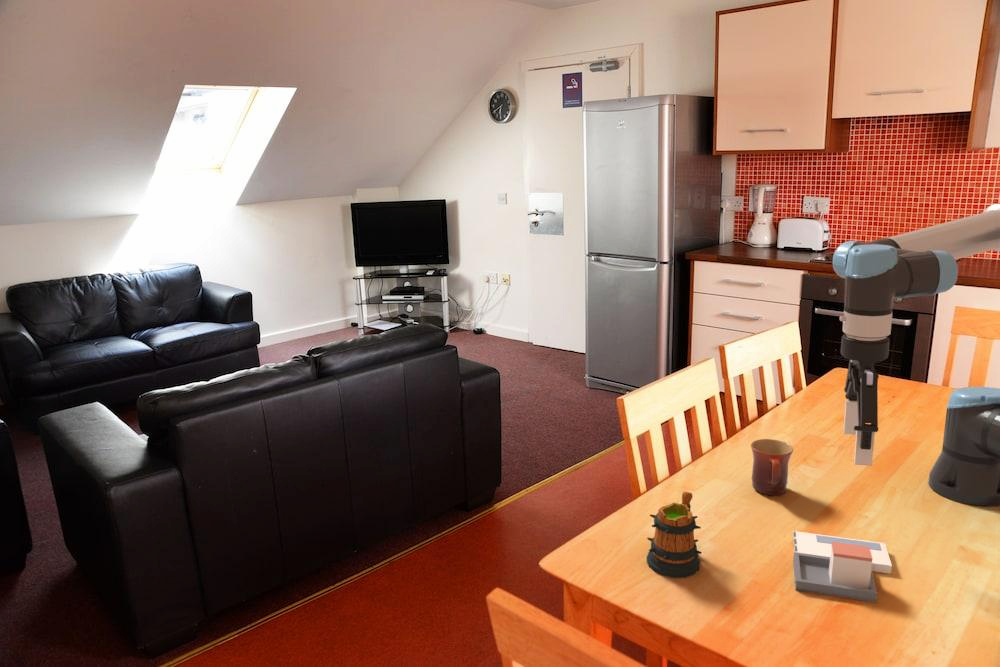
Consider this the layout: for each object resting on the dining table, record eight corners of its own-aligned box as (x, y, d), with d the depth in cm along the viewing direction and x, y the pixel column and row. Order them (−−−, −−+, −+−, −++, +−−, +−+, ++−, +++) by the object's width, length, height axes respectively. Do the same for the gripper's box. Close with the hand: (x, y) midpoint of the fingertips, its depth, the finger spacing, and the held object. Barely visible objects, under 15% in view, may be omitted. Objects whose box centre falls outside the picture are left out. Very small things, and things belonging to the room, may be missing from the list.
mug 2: (745, 479, 170) (748, 437, 168) (786, 482, 169) (789, 440, 166) (752, 504, 159) (755, 459, 156) (795, 507, 157) (799, 462, 155)
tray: (868, 571, 134) (869, 562, 133) (876, 602, 125) (877, 593, 124) (793, 560, 138) (793, 552, 137) (795, 590, 129) (796, 580, 128)
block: (865, 577, 131) (869, 546, 130) (868, 589, 127) (872, 558, 126) (828, 571, 133) (831, 541, 131) (830, 584, 129) (833, 553, 128)
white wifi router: (884, 550, 140) (885, 542, 140) (890, 573, 133) (892, 565, 132) (793, 538, 145) (793, 530, 145) (794, 559, 138) (795, 551, 137)
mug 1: (691, 585, 131) (694, 525, 128) (636, 569, 136) (638, 511, 133) (712, 550, 142) (716, 495, 139) (661, 537, 147) (663, 483, 144)
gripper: (833, 317, 141) (826, 421, 147) (852, 355, 119) (843, 477, 124) (877, 317, 139) (868, 423, 145) (905, 356, 116) (893, 480, 122)
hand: (856, 448), depth 134 cm, fingers open, 13 cm apart
